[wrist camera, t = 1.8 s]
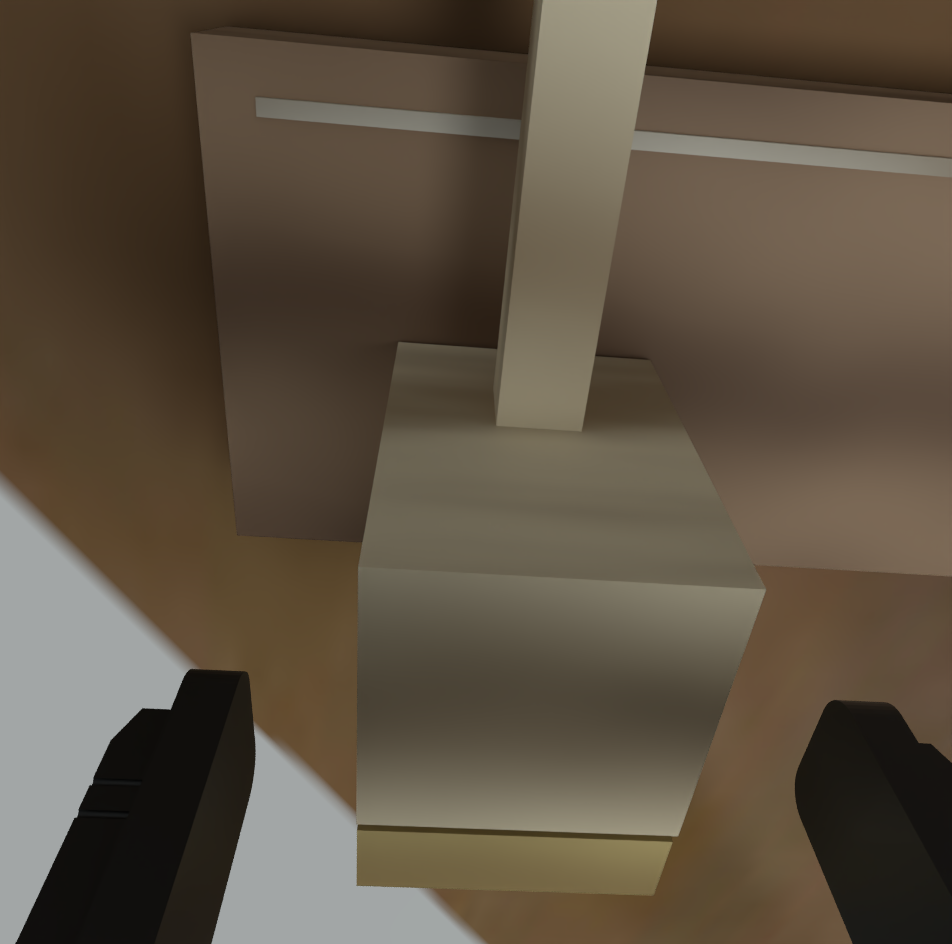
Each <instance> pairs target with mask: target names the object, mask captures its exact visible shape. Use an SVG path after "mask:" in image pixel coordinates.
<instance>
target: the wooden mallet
mask: <svg viewBox="0 0 952 944" xmlns="http://www.w3.org/2000/svg"><path fill="white" fill-rule="evenodd" d="M656 4H657V0H534V4H533V13H532V23H531V32H530V42H529V51H528V61H527V71H526V80H525V90H524V99H523V109H522V118H521V128H520V137H519V147H518V157H517V166H516V176H515V185H514V195H513V204H512V214H511V223H510V233H509V243H508V252H507V262H506V271H505V281H504V290H503V300H502V309H501V319H500V329H499V338H498V348H497V349H489V348H475V347H461V346H447V345H434V344H420V343H406V342H398V347H397V352H396V358H395V364H394V369H393V375H392V380H391V386H390V392H389V397H388V403H387V408H386V414H385V420H384V425H383V431H382V436H381V442H380V448H379V453H378V459H377V464H376V470H375V476H374V481H373V487H372V492H371V498H370V504H369V509H368V515H367V520H366V526H365V532H364V537H363V543H362V548H361V554H360V560H359V565H358V673H357V824H358V828H357V886H382V887H412V888H442V889H473V890H503V891H533V892H564V893H594V894H624V895H654V893H655V890H656V887H657V884H658V881H659V879H660V876H661V873H662V870H663V867H664V864H665V862H666V859H667V856H668V853H669V850H670V847H671V845H672V838H671V836H678V835H679V832H680V829H681V826H682V824H683V821H684V818H685V815H686V812H687V810H688V807H689V804H690V801H691V798H692V796H693V793H694V790H695V787H696V785H697V782H698V779H699V776H700V773H701V771H702V768H703V765H704V762H705V759H706V757H707V754H708V751H709V748H710V745H711V743H712V740H713V737H714V734H715V731H716V729H717V726H718V723H719V720H720V717H721V715H722V712H723V709H724V706H725V703H726V701H727V698H728V695H729V692H730V689H731V687H732V684H733V681H734V678H735V675H736V673H737V670H738V667H739V664H740V661H741V659H742V656H743V653H744V650H745V647H746V645H747V642H748V639H749V636H750V633H751V631H752V628H753V625H754V622H755V619H756V617H757V614H758V611H759V608H760V605H761V603H762V600H763V597H764V594H765V591H766V588H765V586H764V584H763V582H762V581H761V579H760V577H759V575H758V573H757V571H756V569H755V567H754V565H753V563H752V561H751V559H750V557H749V555H748V553H747V551H746V549H745V547H744V545H743V543H742V541H741V539H740V537H739V535H738V533H737V531H736V529H735V527H734V525H733V523H732V521H731V519H730V517H729V515H728V513H727V511H726V509H725V507H724V505H723V503H722V501H721V499H720V497H719V495H718V493H717V491H716V489H715V487H714V485H713V483H712V481H711V479H710V477H709V475H708V473H707V471H706V469H705V467H704V465H703V464H702V462H701V460H700V458H699V456H698V454H697V452H696V450H695V448H694V446H693V444H692V442H691V440H690V438H689V436H688V434H687V432H686V430H685V428H684V426H683V424H682V422H681V420H680V418H679V416H678V414H677V412H676V410H675V408H674V406H673V404H672V402H671V400H670V398H669V396H668V394H667V392H666V390H665V388H664V386H663V384H662V382H661V380H660V378H659V376H658V374H657V372H656V370H655V368H654V366H653V364H652V362H651V360H642V359H628V358H614V357H600V356H595V353H596V347H597V341H598V335H599V330H600V324H601V318H602V313H603V307H604V301H605V295H606V290H607V284H608V278H609V273H610V267H611V261H612V255H613V250H614V244H615V238H616V233H617V227H618V221H619V215H620V210H621V204H622V198H623V192H624V187H625V181H626V175H627V170H628V164H629V158H630V152H631V147H632V141H633V135H634V130H635V124H636V118H637V112H638V107H639V101H640V95H641V90H642V84H643V78H644V72H645V67H646V61H647V55H648V50H649V44H650V38H651V32H652V27H653V21H654V15H655V10H656Z"/></svg>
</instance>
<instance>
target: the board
mask: <svg viewBox="0 0 952 944" xmlns="http://www.w3.org/2000/svg"><path fill="white" fill-rule="evenodd" d="M190 34H191V45H192V56H193V67H194V77H195V88H196V99H197V110H198V120H199V131H200V142H201V153H202V163H203V174H204V185H205V196H206V206H207V217H208V228H209V239H210V249H211V260H212V271H213V282H214V292H215V303H216V314H217V325H218V335H219V346H220V357H221V368H222V378H223V389H224V400H225V411H226V421H227V432H228V443H229V454H230V464H231V475H232V486H233V497H234V507H235V518H236V529H237V535H242V536H260V537H277V538H295V539H312V540H329V541H347V542H363V537H364V532H365V526H366V520H367V515H368V509H369V504H370V498H371V492H372V487H373V481H374V476H375V470H376V464H377V459H378V453H379V448H380V442H381V436H382V431H383V425H384V420H385V414H386V408H387V403H388V397H389V392H390V386H391V380H392V375H393V369H394V364H395V358H396V352H397V347H398V342H406V343H420V344H434V345H447V346H461V347H475V348H489V349H497V348H498V338H499V329H500V319H501V309H502V300H503V290H504V281H505V271H506V262H507V252H508V243H509V233H510V223H511V214H512V204H513V195H514V185H515V176H516V166H517V157H518V147H519V137H520V128H521V118H522V109H523V99H524V90H525V80H526V71H527V61H528V54H518V53H508V52H497V51H486V50H476V49H465V48H454V47H444V46H433V45H422V44H412V43H401V42H390V41H379V40H369V39H358V38H347V37H337V36H326V35H315V34H305V33H294V32H283V31H273V30H262V29H251V28H241V27H230V26H227V27H221V28H215V29H210V30H204V31H198V32H192V33H190ZM595 356H600V357H614V358H628V359H642V360H651V362H652V364H653V366H654V368H655V370H656V372H657V374H658V376H659V378H660V380H661V382H662V384H663V386H664V388H665V390H666V392H667V394H668V396H669V398H670V400H671V402H672V404H673V406H674V408H675V410H676V412H677V414H678V416H679V418H680V420H681V422H682V424H683V426H684V428H685V430H686V432H687V434H688V436H689V438H690V440H691V442H692V444H693V446H694V448H695V450H696V452H697V454H698V456H699V458H700V460H701V462H702V464H703V465H704V467H705V469H706V471H707V473H708V475H709V477H710V479H711V481H712V483H713V485H714V487H715V489H716V491H717V493H718V495H719V497H720V499H721V501H722V503H723V505H724V507H725V509H726V511H727V513H728V515H729V517H730V519H731V521H732V523H733V525H734V527H735V529H736V531H737V533H738V535H739V537H740V539H741V541H742V543H743V545H744V547H745V549H746V551H747V553H748V555H749V557H750V559H751V561H752V563H753V565H764V566H781V567H799V568H816V569H834V570H851V571H868V572H886V573H903V574H920V575H938V576H952V94H946V93H935V92H925V91H914V90H903V89H893V88H882V87H871V86H861V85H850V84H839V83H828V82H818V81H807V80H796V79H786V78H775V77H764V76H754V75H743V74H732V73H722V72H711V71H700V70H689V69H679V68H668V67H657V66H647V65H646V67H645V72H644V78H643V84H642V90H641V95H640V101H639V107H638V112H637V118H636V124H635V130H634V135H633V141H632V147H631V152H630V158H629V164H628V170H627V175H626V181H625V187H624V192H623V198H622V204H621V210H620V215H619V221H618V227H617V233H616V238H615V244H614V250H613V255H612V261H611V267H610V273H609V278H608V284H607V290H606V295H605V301H604V307H603V313H602V318H601V324H600V330H599V335H598V341H597V347H596V353H595Z"/></svg>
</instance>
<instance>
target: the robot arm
mask: <svg viewBox="0 0 952 944" xmlns="http://www.w3.org/2000/svg"><path fill="white" fill-rule="evenodd" d="M254 768H255V736H254V725H253V714H252V703H251V692H250V681H249V676H248V673H247V672H245V671H223V670H201V669H190V670H189V671H188V672H187V673H186V675H185V676H184V678H183V681H182V683H181V686H180V688H179V690H178V693H177V696H176V698H175V701H174V703H173V705H172V708H171V710H167V709H145V708H143V709H141V711H139V712H138V714H137V715H136V716H134V717H133V718H132V720H130V721H129V723H128V724H127V725H126V726H125V727H124V728H123V729H122V730H121V731H120V732H119V733H118V734H117V735H116V736H115V737H114V738H113V739H112V740H111V741H110V744H109V745H108V748H107V750H106V752H105V754H104V756H103V758H102V761H101V763H100V765H99V767H98V769H97V771H96V773H95V775H94V780H93V784H92V786H91V785H90V786H89V788H88V790H87V792H86V795H85V797H84V799H83V801H82V803H81V805H80V807H79V813H78V816H77V818H74V820H73V822H72V825H71V827H70V829H69V831H68V833H67V835H66V837H65V840H64V842H63V844H62V846H61V848H60V850H59V852H58V854H57V857H56V859H55V861H54V863H53V865H52V867H51V869H50V872H49V874H48V876H47V878H46V880H45V882H44V885H43V887H42V889H41V891H40V893H39V895H38V897H37V899H36V902H35V904H34V906H33V908H32V910H31V912H30V914H29V917H28V919H27V921H26V923H25V925H24V927H23V929H22V931H21V933H20V936H19V938H18V940H17V942H16V943H15V944H211V943H212V939H213V935H214V931H215V928H216V924H217V920H218V916H219V912H220V908H221V905H222V901H223V897H224V893H225V889H226V885H227V882H228V878H229V874H230V870H231V866H232V862H233V859H234V855H235V851H236V847H237V843H238V839H239V836H240V832H241V828H242V824H243V820H244V817H245V813H246V809H247V805H248V801H249V797H250V793H251V788H252V783H253V776H254ZM795 797H796V804H797V809H798V812H799V815H800V818H801V821H802V823H803V825H804V828H805V830H806V833H807V835H808V837H809V840H810V842H811V845H812V847H813V849H814V852H815V854H816V857H817V859H818V861H819V864H820V866H821V869H822V871H823V873H824V876H825V878H826V881H827V883H828V885H829V888H830V890H831V893H832V895H833V897H834V900H835V902H836V905H837V907H838V909H839V912H840V914H841V917H842V919H843V921H844V924H845V926H846V929H847V931H848V933H849V936H850V938H851V941H852V943H853V944H952V763H951V762H950V761H949V760H948V759H947V758H946V757H944V756H943V755H942V754H941V753H940V752H939V751H938V750H937V749H936V748H935V747H934V746H933V745H931V744H923V743H918V741H917V740H916V738H915V736H914V735H913V733H912V732H911V730H910V728H909V727H908V725H907V723H906V722H905V720H904V719H903V717H902V715H901V714H900V713H899V711H898V710H897V709H896V708H895V707H894V706H893V705H891V704H889V703H885V702H864V701H842V700H833V701H831V702H829V703H828V704H827V705H826V707H825V709H824V710H823V713H822V715H821V717H820V720H819V722H818V724H817V726H816V729H815V731H814V733H813V735H812V738H811V740H810V742H809V744H808V747H807V749H806V751H805V754H804V756H803V758H802V760H801V763H800V765H799V767H798V770H797V773H796V779H795Z"/></svg>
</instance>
